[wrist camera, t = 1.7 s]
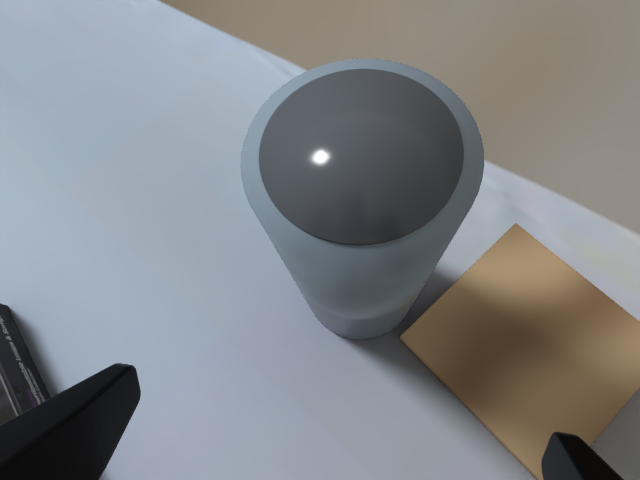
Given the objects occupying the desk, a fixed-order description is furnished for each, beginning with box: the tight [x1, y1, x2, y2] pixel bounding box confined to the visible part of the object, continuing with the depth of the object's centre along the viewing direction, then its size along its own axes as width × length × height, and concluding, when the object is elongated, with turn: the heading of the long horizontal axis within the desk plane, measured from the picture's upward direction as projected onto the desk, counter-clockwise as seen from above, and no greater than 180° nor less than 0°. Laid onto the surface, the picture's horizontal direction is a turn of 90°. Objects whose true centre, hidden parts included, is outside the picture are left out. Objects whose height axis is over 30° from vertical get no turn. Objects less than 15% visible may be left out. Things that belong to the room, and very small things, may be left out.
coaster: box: [399, 224, 640, 480], centre depth 20 cm, size 9×9×1 cm
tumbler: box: [241, 59, 484, 339], centre depth 16 cm, size 6×6×13 cm
